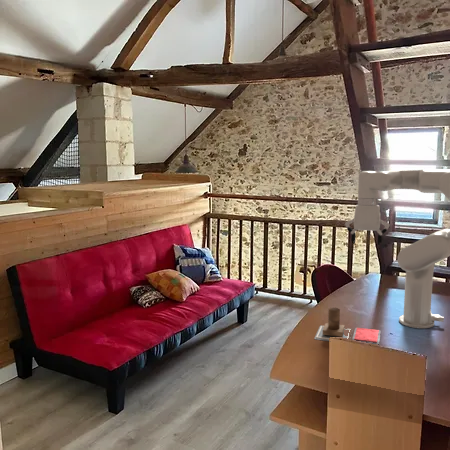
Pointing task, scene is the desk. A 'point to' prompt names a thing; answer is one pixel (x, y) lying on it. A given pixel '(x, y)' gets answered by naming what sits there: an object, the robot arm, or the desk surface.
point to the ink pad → (367, 335)
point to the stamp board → (321, 336)
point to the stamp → (333, 324)
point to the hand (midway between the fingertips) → (366, 243)
